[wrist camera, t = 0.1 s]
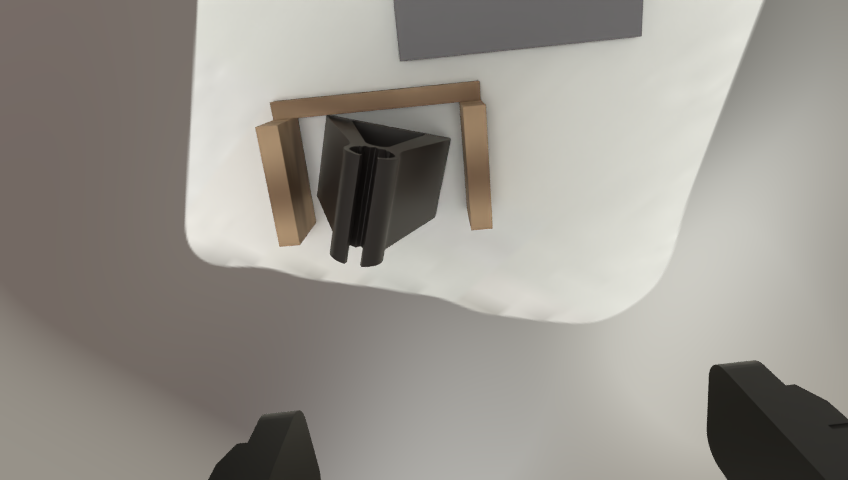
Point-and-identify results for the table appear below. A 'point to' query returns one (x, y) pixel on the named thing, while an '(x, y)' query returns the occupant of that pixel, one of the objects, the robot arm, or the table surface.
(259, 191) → the table surface
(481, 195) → the holder
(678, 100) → the table surface
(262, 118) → the table surface
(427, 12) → the mat
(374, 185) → the phone stand
